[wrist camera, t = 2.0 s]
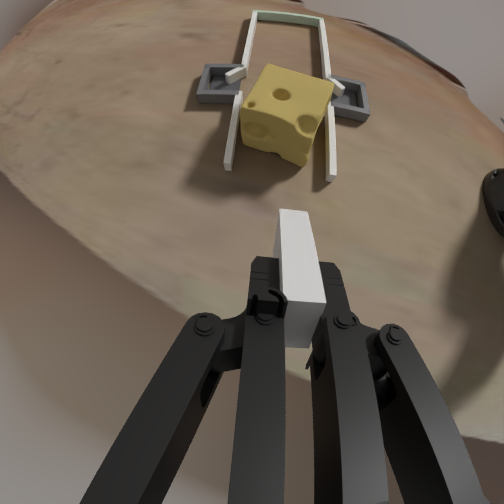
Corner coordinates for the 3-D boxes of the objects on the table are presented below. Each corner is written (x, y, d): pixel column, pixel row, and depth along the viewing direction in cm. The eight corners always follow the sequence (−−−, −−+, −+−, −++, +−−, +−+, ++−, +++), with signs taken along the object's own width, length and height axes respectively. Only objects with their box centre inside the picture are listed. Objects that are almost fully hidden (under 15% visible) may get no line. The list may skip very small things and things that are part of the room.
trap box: (348, 31, 46) (350, 24, 43) (370, 188, 39) (377, 182, 37) (225, 17, 46) (225, 9, 44) (182, 168, 40) (179, 160, 37)
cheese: (303, 169, 40) (318, 134, 30) (237, 145, 40) (234, 106, 30) (322, 120, 41) (337, 82, 31) (262, 99, 42) (264, 58, 32)
